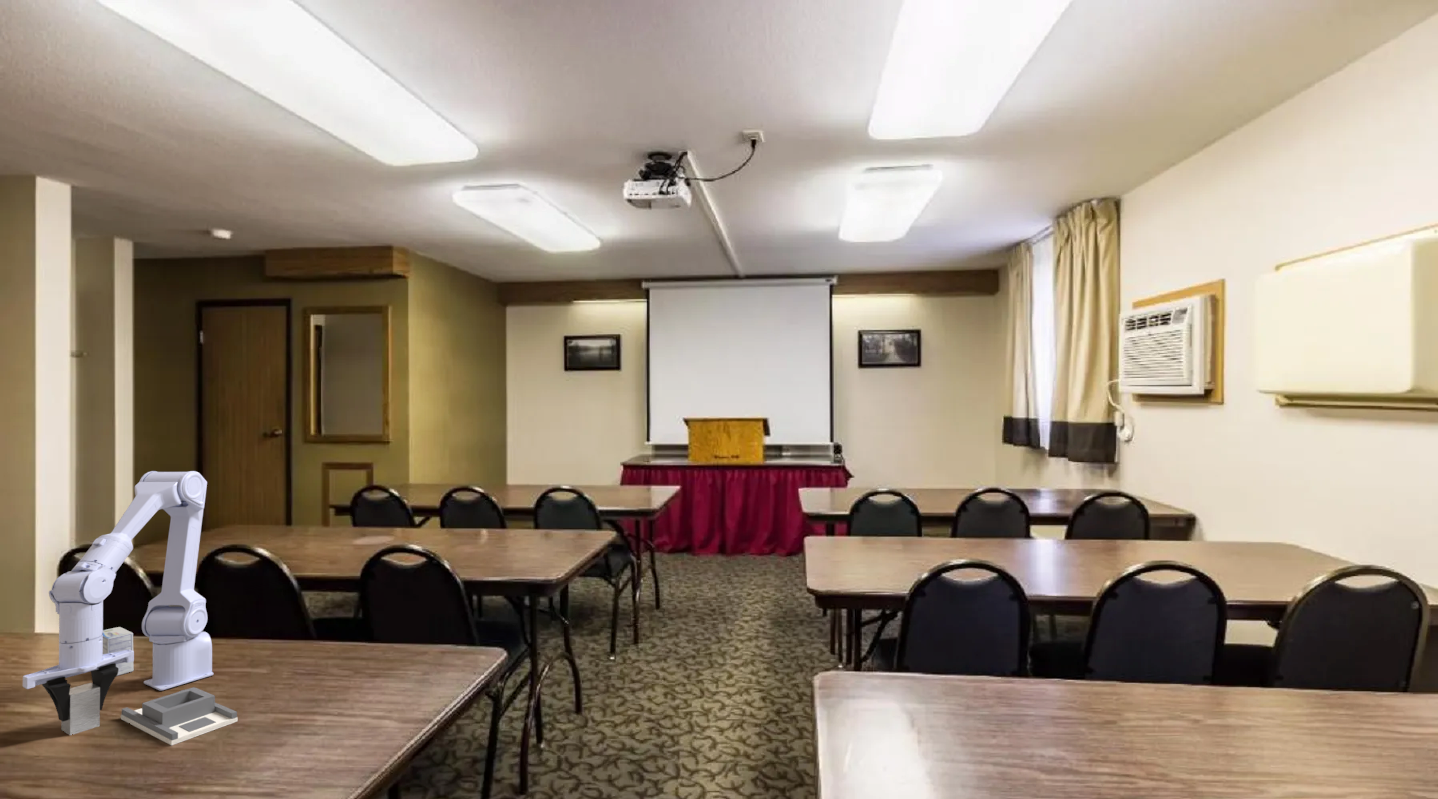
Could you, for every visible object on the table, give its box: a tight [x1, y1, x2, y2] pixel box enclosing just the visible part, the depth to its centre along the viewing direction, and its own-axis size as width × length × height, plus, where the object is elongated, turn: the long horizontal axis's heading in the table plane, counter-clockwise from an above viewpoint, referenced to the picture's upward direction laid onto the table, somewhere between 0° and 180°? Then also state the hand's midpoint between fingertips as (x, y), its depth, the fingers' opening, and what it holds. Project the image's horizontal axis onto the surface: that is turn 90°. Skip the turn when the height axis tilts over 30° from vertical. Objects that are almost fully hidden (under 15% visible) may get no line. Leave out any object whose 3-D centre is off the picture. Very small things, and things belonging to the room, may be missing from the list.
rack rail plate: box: [120, 687, 239, 746], centre depth 123 cm, size 10×20×4 cm, turn 60°
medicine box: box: [103, 626, 134, 677], centre depth 146 cm, size 8×4×9 cm, turn 58°
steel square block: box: [60, 682, 101, 736], centre depth 120 cm, size 4×4×7 cm
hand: (80, 714), depth 120 cm, fingers closed on steel square block, 4 cm apart
